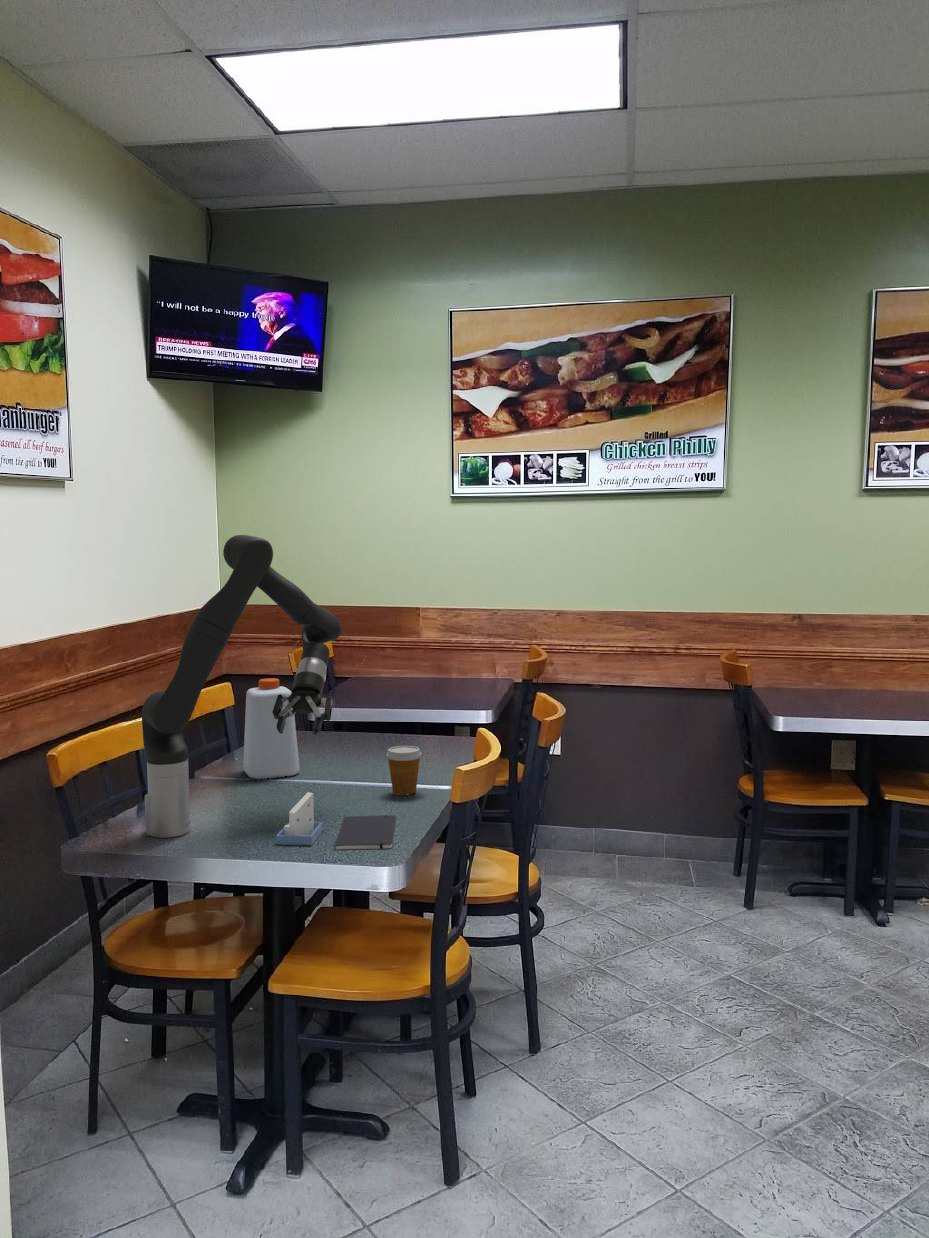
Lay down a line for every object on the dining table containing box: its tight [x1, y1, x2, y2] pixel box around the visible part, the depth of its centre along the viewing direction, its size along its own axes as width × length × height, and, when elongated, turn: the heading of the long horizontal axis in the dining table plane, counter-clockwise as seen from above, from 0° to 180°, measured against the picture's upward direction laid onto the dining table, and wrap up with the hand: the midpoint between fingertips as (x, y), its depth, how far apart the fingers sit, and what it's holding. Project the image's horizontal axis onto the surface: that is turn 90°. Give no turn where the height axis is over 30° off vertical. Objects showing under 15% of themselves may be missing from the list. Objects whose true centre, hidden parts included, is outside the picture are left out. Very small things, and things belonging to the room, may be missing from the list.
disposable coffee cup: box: [386, 745, 423, 796], centre depth 243 cm, size 10×10×12 cm
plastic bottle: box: [242, 677, 300, 780], centre depth 265 cm, size 15×15×28 cm
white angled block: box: [283, 791, 315, 836], centre depth 207 cm, size 4×10×9 cm, turn 142°
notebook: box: [334, 814, 397, 850], centre depth 208 cm, size 13×2×21 cm
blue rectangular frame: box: [275, 821, 324, 846], centre depth 206 cm, size 8×10×2 cm
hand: (297, 732), depth 217 cm, fingers open, 8 cm apart
